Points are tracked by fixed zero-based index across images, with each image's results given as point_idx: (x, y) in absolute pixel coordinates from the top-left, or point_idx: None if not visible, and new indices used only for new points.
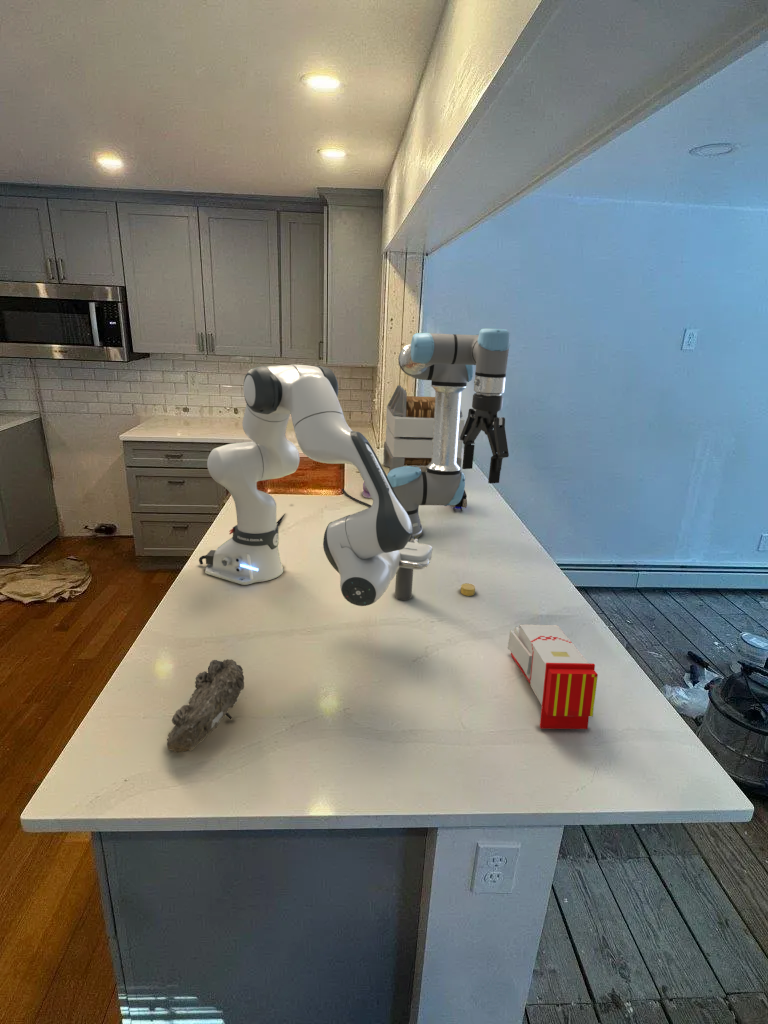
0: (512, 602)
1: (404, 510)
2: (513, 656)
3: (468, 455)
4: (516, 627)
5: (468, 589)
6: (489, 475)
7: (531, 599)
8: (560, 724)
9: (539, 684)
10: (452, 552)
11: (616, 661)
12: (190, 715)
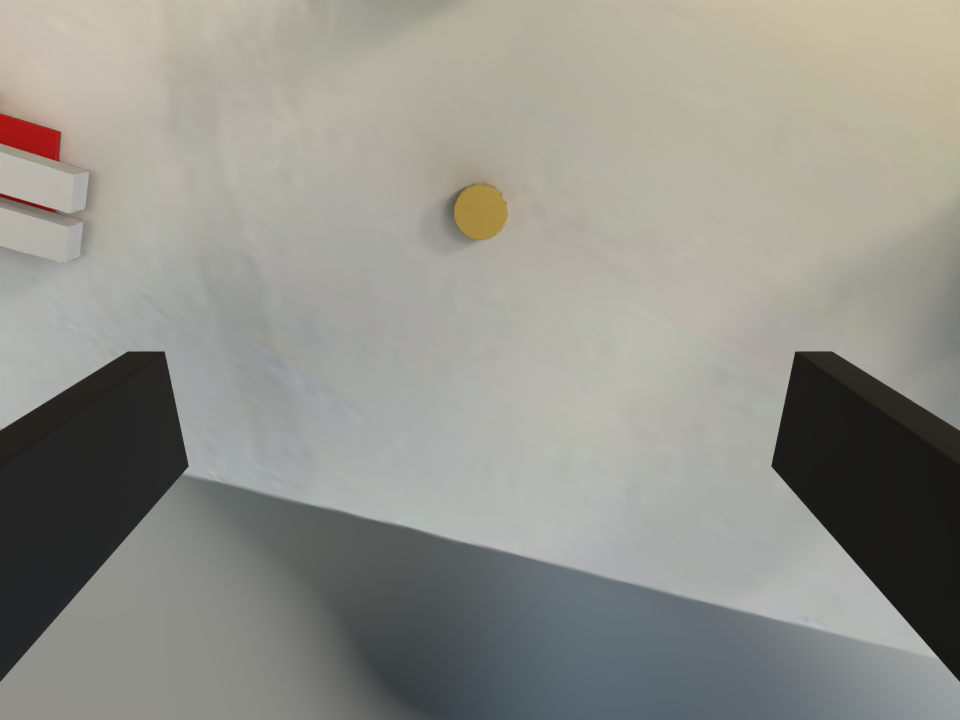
0: (375, 325)
1: None
2: (21, 121)
3: (905, 508)
4: (66, 177)
5: (457, 201)
6: (92, 390)
7: (379, 394)
8: None
9: None
10: (802, 323)
11: (20, 410)
12: None
